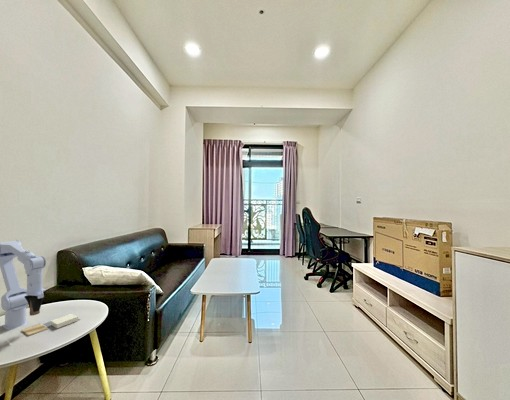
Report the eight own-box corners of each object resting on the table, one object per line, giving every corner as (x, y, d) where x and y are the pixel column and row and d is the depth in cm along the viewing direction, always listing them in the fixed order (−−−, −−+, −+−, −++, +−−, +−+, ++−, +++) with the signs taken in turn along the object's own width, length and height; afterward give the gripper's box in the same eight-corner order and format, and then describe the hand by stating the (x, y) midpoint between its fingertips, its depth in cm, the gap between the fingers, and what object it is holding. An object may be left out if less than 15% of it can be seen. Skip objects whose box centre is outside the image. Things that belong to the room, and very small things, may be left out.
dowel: (28, 314, 116) (28, 300, 116) (37, 311, 119) (38, 297, 119) (31, 316, 114) (31, 301, 115) (41, 313, 118) (41, 298, 118)
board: (21, 331, 116) (21, 329, 116) (39, 325, 122) (39, 323, 122) (28, 337, 111) (28, 334, 111) (47, 330, 117) (47, 328, 117)
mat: (42, 324, 123) (42, 324, 123) (70, 315, 133) (70, 314, 133) (53, 331, 117) (53, 330, 117) (80, 320, 127) (80, 319, 127)
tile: (50, 320, 121) (57, 324, 118) (71, 313, 129) (77, 316, 126) (50, 325, 121) (56, 328, 118) (71, 317, 129) (77, 321, 126)
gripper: (51, 282, 117) (51, 310, 117) (39, 277, 124) (39, 304, 124) (32, 286, 111) (32, 316, 111) (21, 281, 118) (20, 309, 118)
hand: (34, 310), depth 117 cm, fingers closed on dowel, 4 cm apart
